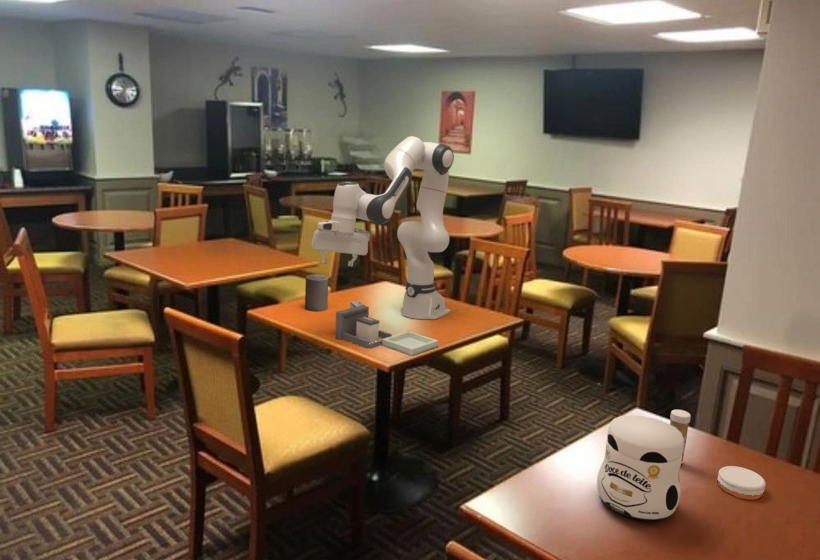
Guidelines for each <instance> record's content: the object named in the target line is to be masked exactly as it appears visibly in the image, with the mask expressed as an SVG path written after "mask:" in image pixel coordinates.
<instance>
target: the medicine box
mask: <svg viewBox="0 0 820 560" xmlns="http://www.w3.org/2000/svg"><path fill="white" fill-rule="evenodd" d="M349 305H350V306H349V308H354V307H358V306H362V305H364V306H366V305H365V304H364V303H363V302H361V301H351V302H350V304H349Z"/></svg>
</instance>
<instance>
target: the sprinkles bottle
mask: <svg viewBox="0 0 820 560" xmlns="http://www.w3.org/2000/svg"><path fill="white" fill-rule="evenodd" d="M691 418H692V417H691V413H689V412H688V411H686V410H683V409H673V410H671V412H670V418H669V419H670V422H669V424H670V425H672V426H674V427H675V428H677V429H678V430H679V431H680V432H681V433H682V436H683V439H684V446H683V452H682V460H681V462H682V461H683V462H684V456H685V451H686V444H687V438H688V432H689V424H690V422H691Z"/></svg>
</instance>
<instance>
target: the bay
mask: <svg viewBox="0 0 820 560" xmlns="http://www.w3.org/2000/svg"><path fill="white" fill-rule="evenodd" d="M364 305H365V304H364ZM364 305H362V306H358V307H354V308H350V307H349V308H345V309H341V310H337V311H336V312H335V338H336V339H339V340H344V341H346V342H349V343H351V342H352V344H354V345H357V344H358V346H360V345H361V346H360V347H362V346H363V347H362V348H366V349H368V348H370V349H373V348H377V347H380V346H382V339H384V338H388V337H391V336H393V334H392V333H389V332H386V331H383V330H380V329H379V331H378V338H380V337H381V338H380V339H381V340H378V341H377V342H373V343H370V344H369V341H367V340H364V339H362V338H359V337H356V326H357V321H356V318H360V317H364V316H367V317H369V310H370V307H369V306H367V305H365V306H364ZM354 335H355V336H354ZM379 345H380V346H379ZM376 346H377V347H376ZM372 347H373V348H372Z"/></svg>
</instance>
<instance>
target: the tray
mask: <svg viewBox="0 0 820 560" xmlns="http://www.w3.org/2000/svg"><path fill="white" fill-rule="evenodd" d="M381 340H382V345H383V347H385V346H386V348H388V347H389V348H388V349H391V350H394V351H396V350H397V352H399V351H400V353H403V354H406V355H409V356H411V357H412V356H416V355H419V354H421V353H425V352H427V351H430V350H433V349H436V348H438V347H439V339H434V338H431V337H428V336H424V335H422V334H419V333H415V332H413V331H409V330H407V331H404V332H400V333H397V334H394V335H392V336H391V337H388V338H384V339H383V338H381ZM382 345H381V346H382Z"/></svg>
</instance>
